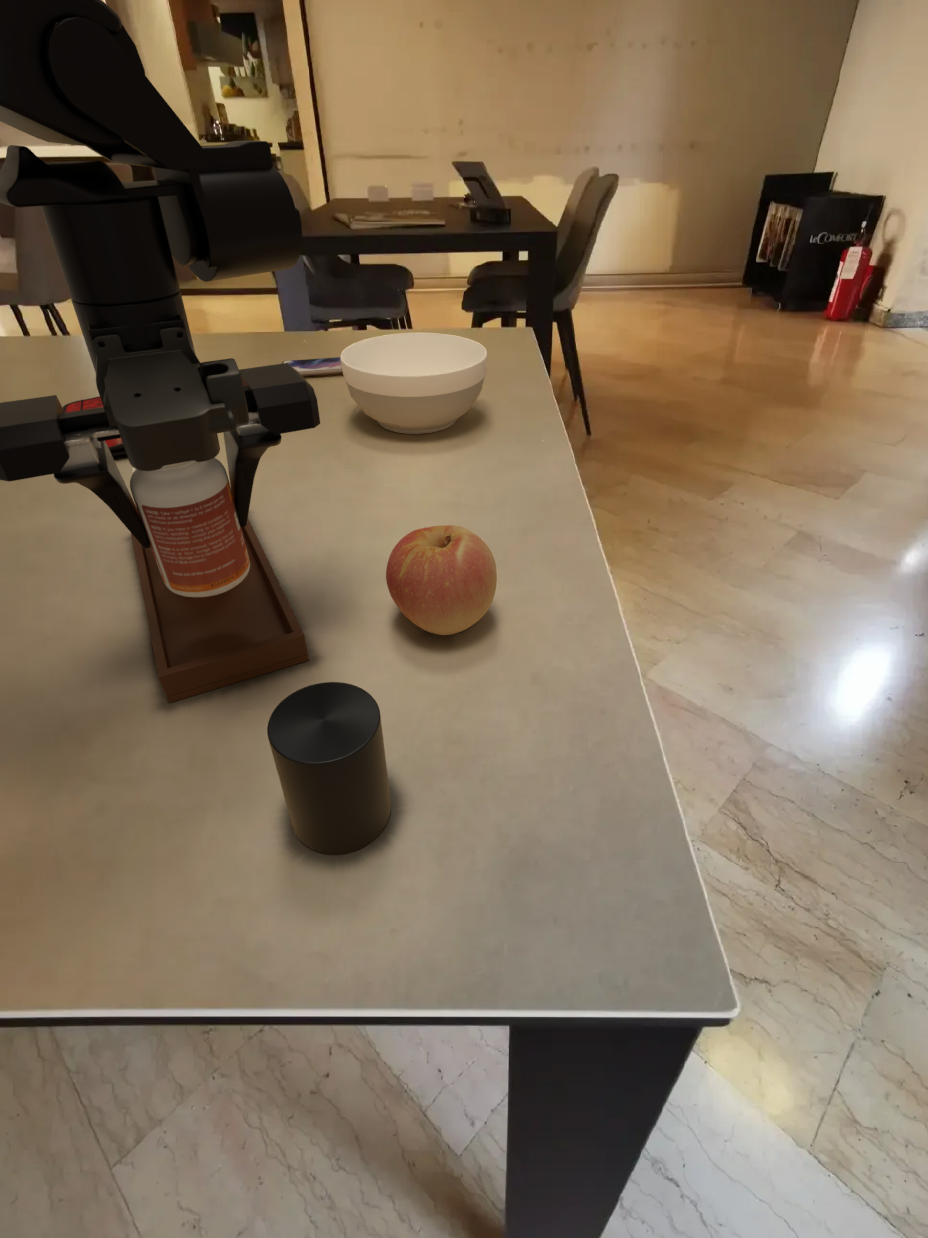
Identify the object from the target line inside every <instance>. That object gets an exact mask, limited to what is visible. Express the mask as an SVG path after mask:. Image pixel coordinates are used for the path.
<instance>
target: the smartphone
mask: <svg viewBox="0 0 928 1238" xmlns="http://www.w3.org/2000/svg"><path fill="white" fill-rule="evenodd" d="M283 363H288V364H289V365H291V366H292V367H293V368H294V369H296V370H297V371H298V372H299V373H300V374H301V375H302V376H303V377H308V376H322V375H336V374H337V375H338V374H343V370H342V365H341V360H340V356H339V357H338V356H337V357H324V358H306V359H292V360H291V359H290V360H283V361H282V362H281V364H283Z"/></svg>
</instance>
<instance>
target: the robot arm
mask: <svg viewBox="0 0 928 1238" xmlns="http://www.w3.org/2000/svg"><path fill="white" fill-rule="evenodd" d="M0 122H1V123H3V124H5V125H6V126H10V127H12V128H14V129H16V130H18V131H21V132H23V133H25V134H27V135H29V136H31V137H33V138H36V139H38V140H42V141H44V142H46V143H53V144H61V145H71V146H72V145H73V146H83V147H87V149H90V150H91V151H93V152H94V153H96V154H98V155H99V156H101V157H102V158H104V159H106V160H107V161H109V162H110V163H114V164H121V165H130V166H139V167H146V168H153V172H154V176H155V180H139V181H138V180H137V181H121V179H120V177H118V175H117V174H116V172H115V171H114V169H113V168H112V167H110V166H109V165H108V164H107V163H106V162H105V161H102V160H85V161H84V160H83V161H82V160H81V161H80V160H79V161H59V162H45V161H44V160H42V159H41V158H39V156H37V155H36V154H35V153H34V152H33V151H32V150H31V149H30V148H29V147H27V146H25V145H17V144H16V145H15V144H10V145H8V146H7V148H6V154H5V158H4V163H3V164H2V167H1V169H0V204H3V205H6V206H9V207H13V208H16V209H17V208H19V209H20V208H32V207H33V208H34V207H40V210H41V213H42V216H43V220H44V223H45V225H46V228H47V231H48V234H49V237H50V240H51V244H52V247H53V249H54V252H55V255H56V258H57V261H58V264H59V268H60V270H61V273H62V276H63V279H64V282H65V285H66V288H67V292H68V294H69V297H70V300H71V303H72V306H73V310H74V313H75V316H76V319H77V321H78V325H79V327H80V331H81V333H82V336H83V340H84V343H85V345H86V349H87V351H88V355H89V357H90V361H91V363H92V366H93V369H94V372H95V384H96V385H95V386H96V390H97V392H98V395H99V396H100V398H101V401H102V404H103V407H99V408H93V409H86V410H79V411H72V412H66V413H64V411H63V406H62V405H63V404H62V403H61V401H60V399H59V398H58V395H57V394H54V395H46V396H41V397H40V396H39V397H32V398H24V399H17V400H9V401H2V402H0V481H3V482H8V483H9V482H15V481H21V480H26V479H32V478H38V477H43V476H48V475H49V476H50V475H53V477H54V479H55V480H56V482H57V483H58V484H62V485H67V484H78V485H80V486H82V487H84V488H86V489H88V490H89V491H91V492H92V493H93V494H94V495H96V496H97V498H99V499H100V500H101V501H102V502H103V503H104V504H105V505H106V506H107V507H108V508H109V509H110V510H111V511H112V512H113V514H114V515H115V516H116V517H117V518H118V519H119V520H120V522H121V523H122V524H123V525H124V526H125V528H126V529H127V530H128V531H129V533H130V534H131V533H132V535H133V536H134V537H135V538H136V539H137V540H138V542H139V543H140V544H141V545H142V546H143V548H150V543H149V540H148V537H147V534H146V532H145V529H144V526H143V524H142V521H141V518H140V515H139V512H138V510H137V507H136V504H135V501H134V499H133V496H132V494H131V493H130V490H129V488H128V486H127V484H126V482H125V480H124V478H123V475H122V474H121V472H120V470H119V467H118V466H117V463H116V461H115V459H114V456H112V454H111V452H110V450H109V448H108V446H107V444H106V442H105V440H112V439H118V438H121V439H122V442H123V445H124V448H125V451H126V454H125V455H126V456H127V460H128V462H129V464H130V465H131V468H132V467H134V468H135V469H137V470H141V471H154V470H159V469H161V468H162V467H163V466H166V465H171V464H177V463H182V462H188V461H196V462H203V461H208V460H211V459H213V458H214V457H215V458H217V456H218V455H219V454H220V452H221V446H220V440H219V436H218V435H219V434H221V433H222V434H223V440H224V441H223V442H224V446H225V456H226V463H227V468H228V479H229V483H230V487H231V491H232V495H233V499H234V503H235V507H236V511H237V515H238V519H239V523H240V527H245V526H246V525H247V519H249V513H250V506H251V498H252V494H253V493H252V492H253V488H254V487H253V486H254V481H255V476H256V474H257V470H258V468H259V463H260V460H261V458H262V457H263V455H264V454H265V453H266V452H267V450H268V449H269V448H271V447H276V446H279V445H280V444H281V443H282V434H288V433H294V432H298V431H305V430H310V429H315V428H317V427H318V426H319V425H320V424H321V417H320V410H319V404H318V398H317V395H316V392H315V389H314V387H313V386H312V385H311V383H309V382H308V381H307V379H306V378H305V376H302V375H301V374H300V373H299V372H298V371H297V370H296V369H294V368H293V367H292V366H291V365H289V364H288V363H283V364H282V363H277V364H269V365H262V366H255V367H248V368H239V366H238V364H237V361H236V360H235V358H224V359H215V360H209V361H202V362H201V361H200V360H199V358H198V356H197V355H196V350H195V346H194V342H193V337H192V334H191V329H190V325H189V321H188V318H187V317H188V316H187V313H186V308H185V305H184V304H185V303H184V300H183V296H182V291H181V288H180V284H179V280H178V275H177V271H176V266H175V263H174V260H175V261H176V262H177V263H178V264H179V265H181V266H188V268H189V269H190V271H191V272H192V273H193V274H194V276H195V277H197V278H198V279H199V280H200V281H202V282H206V283H207V282H214V281H221V280H227V279H233V278H234V279H235V278H239V277H240V278H241V277H246V276H252V275H259V274H265V273H272V272H278V271H284V270H290V269H292V268H293V267H294V266H296V265H297V262H298V261H299V259H300V256H301V252H302V246H303V225H302V218H301V213H300V210H299V209H298V208H297V207H296V205H295V202H294V198H293V196H292V193H291V191H290V188H289V186H288V183H287V182H286V180H285V179H284V177H283V174H281V173H280V172H279V171H278V169H277V168H276V167H275V166H274V162H273V156H272V148H271V144H270V143H269V142H268V141H266V140H249V139H248V140H234V141H233V140H232V141H230V142H227V143H225V144H221V145H203V146H202V145H201V144H200V143H199V141H198V140H197V138H196V137H195V136H194V135H193V133H192V132H191V131H190V130H189V129H188V127H187V126H186V125H185V124H184V123H183V121H182V120H181V119H180V117H179V116H178V114H176V112H175V111H174V110H173V108H172V107H171V106H170V104H169V103H168V102H167V101H166V99H165V98H164V97H163V96H162V94H161V93H160V92H159V91H158V90H157V88H156V87H155V86H154V84H153V83H152V82H151V80H149V78H148V76H146V70H145V67H144V64H143V61H142V59H141V56H140V54H139V51H138V48H137V45H136V44H135V42H134V41H133V39H132V38H131V36H130V34H129V33H128V31H127V30H126V28H125V26H124V25H123V23H122V20H121V18H120V16H119V15H118V13H117V12H116V11H114V10H113V9H112V8H111V7H110V6H109V5H108V4H107V3H105V1H103V0H0Z"/></svg>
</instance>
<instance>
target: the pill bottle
mask: <svg viewBox="0 0 928 1238" xmlns="http://www.w3.org/2000/svg"><path fill="white" fill-rule="evenodd" d="M129 488H130V492H131V493H130V494H131V497H132V499H133V501H134V503H135V505H136V507H137V510H138V512H139V515H140V518H141V521H142V524H143V526H144V529H145V532H146V534H147V537H148V540H149V543H150V546H151V548H152V551H153V554H154V557H155V559H156V562H157V565H158V567H159V570H160V573H161V576H162V578H163V580H164V583H165V585H166V586H167V588H168V589H169V590H171V591H172V592H174V593H176V594H178V595H181V596H186V597H208V596H214V595H218V594H221V593H224V592H226V591H228V590H230V589H232V588H234V587H235V586H237V585H238V584H239V583H240V582H241V581H243V579H244V578H245V577H246V576H247V574H248V572H249V569H250V561H249V556H248V552H247V548H246V545H245V541H244V537H243V533H242V530H241V527H240V523H239V519H238V515H237V511H236V507H235V503H234V499H233V495H232V491H231V486H230V478H229V475H228V473H227V470H226V468H225V465H224V464H223V463H222V462H221V460H219V459H218V458H217V457H214V458H213V459H211V460H208V461H203V462H196V461H188V462H182V463H177V464H171V465H166V466H163V467H162V468H161V469H159V470H154V471H141V470H137V469H136V470H135V471H134V473H133V472H132V474H131V477H130V480H129Z"/></svg>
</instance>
